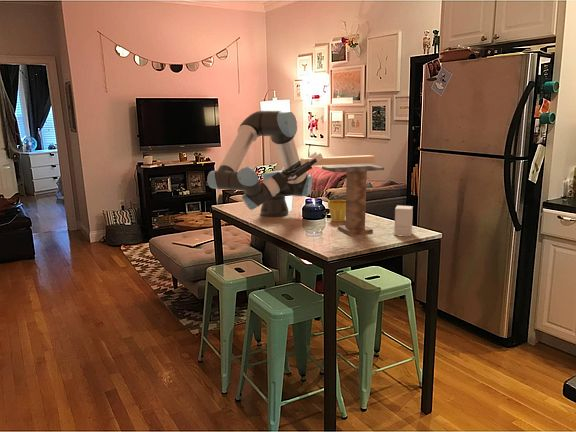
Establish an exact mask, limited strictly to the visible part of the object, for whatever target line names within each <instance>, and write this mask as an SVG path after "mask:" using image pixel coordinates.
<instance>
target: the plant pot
mask: <svg viewBox="0 0 576 432" xmlns="http://www.w3.org/2000/svg"><path fill="white" fill-rule="evenodd" d="M327 209H329V214H330V219H331V221H332V222H334V223H335V222H337V223H338V222H341V223H342V222H344V221H346V199H332V200H328V202H327Z"/></svg>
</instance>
